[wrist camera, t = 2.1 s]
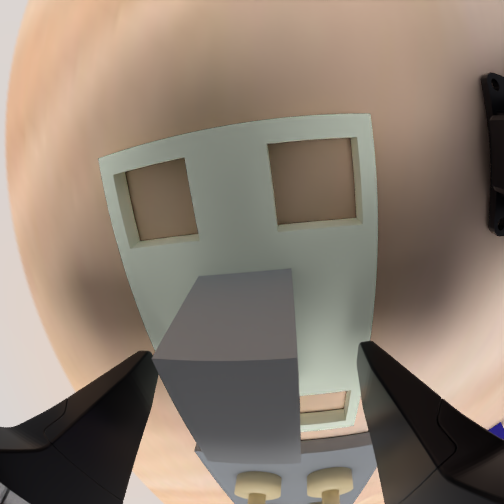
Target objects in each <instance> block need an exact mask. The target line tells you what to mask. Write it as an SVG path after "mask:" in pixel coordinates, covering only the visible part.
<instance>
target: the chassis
mask: <svg viewBox="0 0 504 504" xmlns="http://www.w3.org/2000/svg"><path fill="white" fill-rule="evenodd" d="M195 452H196V454H197V455H198V457H199V458H200V460H201V461H202V462H203V464H204V465H205V467H206V468H207V469H208V471H209V472H210V473H211V475H212V476H213V477H214V479H215V480H216V481H217V483H218V484H219V485H220V486H221V488H222V489H223V490H224V491H225V493H226V494H227V495H228V496H229V497H230V499H231V500H232V501H233V502H234V503H235V504H353V503H354V501H355V500H356V499H357V497H358V496H359V494H360V493H361V491H362V490H363V488H364V487H365V485H366V484H367V482H368V480H369V479H370V477H371V476H372V474H373V472H374V471H375V469H376V467H377V463H376V459H375V454H374V450H373V446H372V442H371V437H370V433H369V432H366V433H360V434H354V435H348V436H341V437H334V438H325V439H316V440H304V441H301V463H295V464H237V463H222V462H211V461H208V460H207V458H206V457H205V455H204V454H203V452H202V451H201V449H200V447H199V446H198V444H197V443H196V447H195Z"/></svg>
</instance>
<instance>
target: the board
mask: <svg viewBox="0 0 504 504" xmlns="http://www.w3.org/2000/svg"><path fill="white" fill-rule="evenodd" d="M336 138H350V140H351V149H352V159H353V171H354V185H355V202H356V218H347V219H336V220H324V221H313V222H303V223H292V224H282V225H278V222H277V214H276V206H275V197H274V189H273V182H272V174H271V166H270V159H269V152H268V144H274V143H284V142H294V141H305V140H319V139H336ZM181 158H185V164H186V170H187V176H188V181H189V187H190V192H191V198H192V203H193V209H194V214H195V219H196V224H197V229H198V234H192V235H184V236H176V237H168V238H160V239H153V240H145V241H140V238H139V234H138V230H137V226H136V222H135V218H134V213H133V209H132V205H131V200H130V195H129V190H128V185H127V180H126V175H125V172H127V171H131V170H134V169H138V168H142V167H146V166H150V165H154V164H159V163H163V162H167V161H172V160H176V159H181ZM98 160H99V166H100V172H101V177H102V182H103V187H104V192H105V197H106V201H107V206H108V210H109V214H110V219H111V223H112V227H113V230H114V234H115V238H116V242H117V245H118V249H119V252H120V256H121V259H122V262H123V266H124V269H125V272H126V275H127V278H128V281H129V284H130V287H131V290H132V293H133V296H134V299H135V302H136V305H137V307H138V310H139V313H140V315H141V318H142V321H143V323H144V326H145V328H146V331H147V333H148V336H149V338H150V341H151V343H152V345H153V348H154V350H155V353H154V355H153V357H152V358H151V359H152V361H153V363H154V365H155V367H156V369H157V371H158V373H159V376H160V378H161V380H162V382H163V384H164V386H165V388H166V390H167V392H168V393H169V395H170V397H171V399H172V401H173V403H174V405H175V407H176V408H177V410H178V412H179V414H180V416H181V417H182V419H183V421H184V423H185V424H186V426H187V428H188V430H189V431H190V433H191V435H192V436H193V438H194V439H195V441H196V443H197V444H198V446H199V447H200V449H201V451H202V452H203V454H204V455H205V457H206V458H207V460H208V461H211V462H222V463H237V464H295V463H301V432H306V431H318V430H327V429H335V428H343V427H349V426H354V422H355V418H356V414H357V410H358V405H359V401H360V396H361V391H360V384H359V378H358V372H357V354H358V346H359V343H360V342H364V341H370V338H371V330H372V322H373V313H374V302H375V290H376V276H377V254H378V198H377V176H376V161H375V150H374V140H373V131H372V122H371V115H370V114H324V115H308V116H295V117H284V118H275V119H267V120H259V121H251V122H245V123H238V124H232V125H226V126H220V127H215V128H210V129H205V130H200V131H195V132H190V133H186V134H181V135H177V136H173V137H169V138H165V139H161V140H157V141H153V142H150V143H146V144H142V145H139V146H135V147H132V148H129V149H125V150H122V151H119V152H116V153H113V154H110V155H107V156H104V157H101V158H98ZM341 391H347V392H346V399H345V405H344V409H339V410H332V411H323V412H313V413H301V414H300V396H304V395H316V394H325V393H334V392H341Z"/></svg>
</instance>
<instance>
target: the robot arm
mask: <svg viewBox="0 0 504 504" xmlns="http://www.w3.org/2000/svg"><path fill="white" fill-rule="evenodd" d="M481 83H482V88H483V94H484V100H485V106H486V113H487V121H488V130H489V142H490V164H491V187H490V208H489V221H488V226H489V229H490V231H491V232H492V233H494V234H495V235H497V236H504V77H503V76H500V75H497V74H495V73H486V74H483V75H482V78H481ZM491 83H492V84H493V87H492V84H491ZM498 221H499V224H498ZM152 357H153V355H152V353H151V352H150V351H138V352H137V353H135V354H134V355H132V356H131V357H129V358H128V359H126V360H125V361H123V362H122V363H120V364H119V365H117V366H115V367H114V368H112V369H111V370H109V371H108V372H106V373H105V374H103V375H102V376H100V377H99V378H97V379H96V380H94V381H93V382H91V383H90V384H88V385H87V386H85V387H83V388H82V389H80V390H79V391H77V392H76V393H74V394H73V395H71V396H70V397H68V398H66V399H65V400H63V401H62V402H60V403H59V404H57V405H56V406H54V407H52V408H50V409H48V410H47V411H45V412H43V413H41V414H39V415H37V416H35V417H33V418H31V419H29V420H27V421H26V422H24V423H21V424H20V425H17V426H14V427H7V428H6V427H5V428H4V427H0V504H123V500H124V497H125V493H126V489H127V486H128V482H129V478H130V475H131V472H132V468H133V465H134V462H135V458H136V455H137V452H138V448H139V445H140V442H141V439H142V435H143V432H144V429H145V426H146V423H147V420H148V417H149V414H150V410H151V407H152V403H153V398H154V393H155V388H156V384H157V379H158V375H159V373H158V371H157V369H156V367H155V365H154V363H153V361H152V359H151V358H152ZM357 372H358V378H359V384H360V391H361V399H362V405H363V410H364V414H365V418H366V422H367V426H368V429H369V433H370V437H371V442H372V446H373V450H374V454H375V459H376V463H377V468H378V472H379V477H380V482H381V487H382V492H383V497H384V502H385V504H504V440H503V439H501V438H499V437H498V436H496V435H494V434H493V433H491V432H490V431H488V430H486V429H485V428H483V427H482V426H480V425H478V424H477V423H475V422H474V421H472V420H471V419H469V418H468V417H466V416H465V415H463V414H462V413H461V412H459V411H458V410H457V409H455V408H454V407H453V406H451V405H450V404H449V403H448V402H447V401H445V400H444V399H441V397H440V396H439V395H438V394H437V393H435V392H434V391H433V390H432V389H431V388H429V387H428V386H427V385H426V384H424V383H423V382H422V381H421V380H420V379H418V378H417V377H416V376H415V375H414V374H412V373H411V372H410V371H409V370H407V369H406V368H405V367H404V366H402V365H401V364H400V363H399V362H398V361H396V360H395V359H394V358H393V357H391V356H390V355H389V354H388V353H387V352H385V351H384V350H383V349H382V348H380V347H379V346H378V345H377V344H375V343H374V342H373V341H364V342H360V343H359V346H358V354H357Z"/></svg>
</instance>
